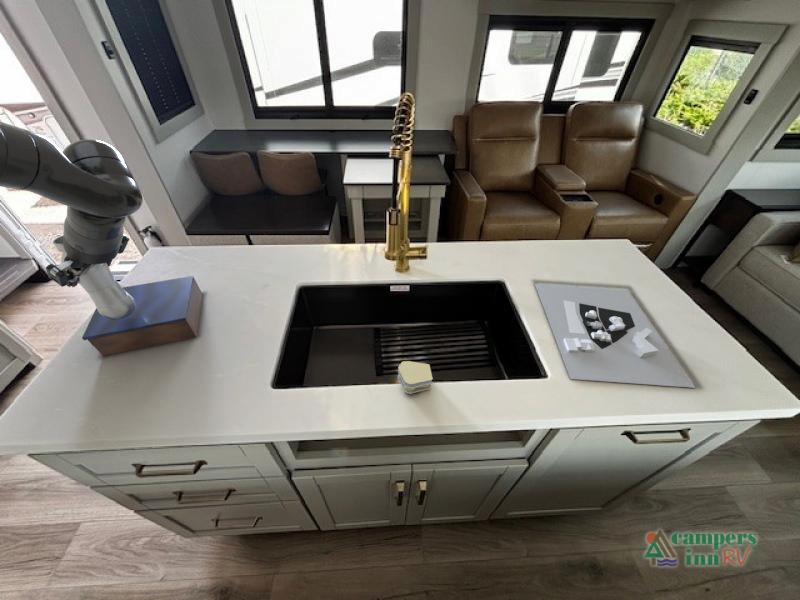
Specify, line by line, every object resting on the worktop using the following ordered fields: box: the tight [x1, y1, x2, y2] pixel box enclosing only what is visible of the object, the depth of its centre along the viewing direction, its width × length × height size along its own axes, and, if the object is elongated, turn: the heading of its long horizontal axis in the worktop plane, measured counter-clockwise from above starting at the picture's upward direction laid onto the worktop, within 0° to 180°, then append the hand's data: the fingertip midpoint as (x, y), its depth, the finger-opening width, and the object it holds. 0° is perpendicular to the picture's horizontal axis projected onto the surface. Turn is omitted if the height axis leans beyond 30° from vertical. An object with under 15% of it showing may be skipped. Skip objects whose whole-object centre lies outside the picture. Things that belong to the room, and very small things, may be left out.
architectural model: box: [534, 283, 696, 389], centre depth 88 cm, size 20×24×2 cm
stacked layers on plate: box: [397, 360, 434, 395], centre depth 72 cm, size 10×9×6 cm
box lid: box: [81, 275, 195, 341], centre depth 80 cm, size 20×17×1 cm
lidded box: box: [87, 278, 203, 357], centre depth 83 cm, size 20×17×7 cm
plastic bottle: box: [52, 235, 136, 320], centre depth 68 cm, size 6×7×20 cm
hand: (87, 273), depth 68 cm, fingers closed on plastic bottle, 6 cm apart
